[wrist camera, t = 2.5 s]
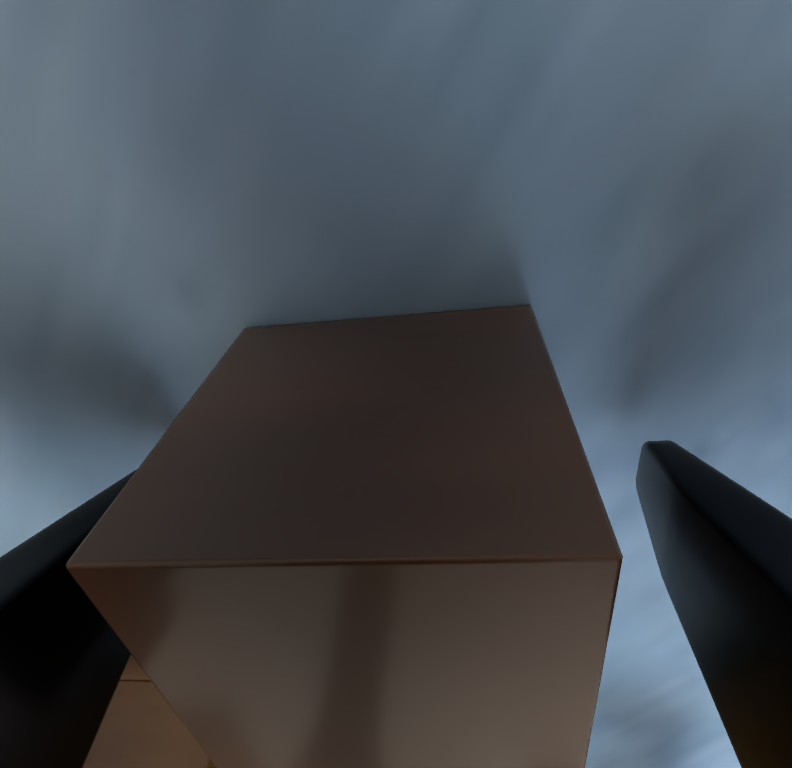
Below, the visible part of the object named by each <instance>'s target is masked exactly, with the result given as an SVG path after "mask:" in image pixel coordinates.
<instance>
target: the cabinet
mask: <svg viewBox="0 0 792 768" xmlns="http://www.w3.org/2000/svg"><path fill="white" fill-rule="evenodd" d="M83 768H216V766H215V765H214V764H213V762H212V761H211V760H210V758H209V757H208V756H207V754H206V753H205V752H204V750H203V749H202V748H201V746H200V745H199V744H198V742H197V741H196V740H195V738H194V737H193V736H192V734H191V733H190V732H189V730H188V729H187V728H186V726H185V725H184V724H183V722H182V721H181V720H180V718H179V717H178V716H177V714H176V713H175V712H174V710H173V709H172V708H171V706H170V705H169V704H168V703H167V701H166V700H165V699H164V697H163V696H162V695H161V693H160V692H159V691H158V689H157V688H156V687H155V685H154V684H153V683H152V681H151V680H150V679H149V677H148V676H147V675H146V673H145V672H144V671H143V669H142V668H141V667H140V665H139V664H138V663H137V661H136V660H135V659H134V657H133V656H132V655H130V657H129V660H128V662H127V664H126V667H125V669H124V671H123V674H122V676H121V678H120V681H119V683H118V685H117V688H116V690H115V693H114V695H113V697H112V700H111V702H110V704H109V707H108V709H107V711H106V714H105V716H104V719H103V721H102V723H101V726H100V728H99V730H98V733H97V735H96V737H95V740H94V742H93V744H92V747H91V749H90V752H89V754H88V756H87V759H86V761H85V763H84V766H83Z"/></svg>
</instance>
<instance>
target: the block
mask: <svg viewBox="0 0 792 768" xmlns="http://www.w3.org/2000/svg"><path fill="white" fill-rule="evenodd" d="M622 558H623V556H622V553H621V551H620V548H619V545H618V542H617V540H616V537H615V534H614V531H613V529H612V526H611V523H610V521H609V518H608V515H607V512H606V510H605V507H604V504H603V501H602V499H601V496H600V493H599V490H598V488H597V485H596V482H595V479H594V477H593V474H592V471H591V469H590V466H589V463H588V460H587V458H586V455H585V452H584V449H583V447H582V444H581V441H580V438H579V436H578V433H577V430H576V427H575V425H574V422H573V419H572V417H571V414H570V411H569V408H568V406H567V403H566V400H565V397H564V395H563V392H562V389H561V386H560V384H559V381H558V378H557V375H556V373H555V370H554V367H553V365H552V362H551V359H550V356H549V354H548V351H547V348H546V345H545V343H544V340H543V337H542V334H541V332H540V329H539V326H538V323H537V321H536V318H535V315H534V313H533V310H532V307H531V306H530V305H521V306H509V307H497V308H485V309H473V310H461V311H449V312H437V313H425V314H413V315H401V316H388V317H376V318H364V319H352V320H340V321H328V322H316V323H304V324H292V325H280V326H268V327H256V328H245V329H244V330H243V331H242V332H241V333H240V335H239V336H238V337H237V339H236V340H235V341H234V343H233V344H232V345H231V347H230V348H229V349H228V351H227V352H226V353H225V355H224V356H223V357H222V359H221V360H220V361H219V362H218V364H217V365H216V366H215V368H214V369H213V370H212V372H211V373H210V374H209V376H208V377H207V378H206V380H205V381H204V382H203V384H202V385H201V386H200V388H199V389H198V390H197V392H196V393H195V394H194V395H193V397H192V398H191V399H190V401H189V402H188V403H187V405H186V406H185V407H184V409H183V410H182V411H181V413H180V414H179V415H178V417H177V418H176V419H175V421H174V422H173V423H172V424H171V426H170V427H169V428H168V430H167V431H166V432H165V434H164V435H163V436H162V438H161V439H160V440H159V442H158V443H157V444H156V446H155V447H154V448H153V450H152V451H151V452H150V453H149V455H148V456H147V457H146V459H145V460H144V461H143V463H142V464H141V465H140V467H139V468H138V469H137V471H136V472H135V473H134V475H133V476H132V477H131V479H130V480H129V481H128V482H127V484H126V485H125V486H124V488H123V489H122V490H121V492H120V493H119V494H118V496H117V497H116V498H115V500H114V501H113V502H112V504H111V505H110V506H109V508H108V509H107V510H106V511H105V513H104V514H103V515H102V517H101V518H100V519H99V521H98V522H97V523H96V525H95V526H94V527H93V529H92V530H91V531H90V533H89V534H88V535H87V537H86V538H85V539H84V540H83V542H82V543H81V544H80V546H79V547H78V548H77V550H76V551H75V552H74V554H73V555H72V556H71V558H70V559H69V560H68V562H67V564H66V568H67V570H68V571H69V572H70V574H71V575H72V576H73V578H74V579H75V580H76V582H77V583H78V584H79V586H80V587H81V588H82V590H83V591H84V592H85V594H86V595H87V596H88V598H89V599H90V600H91V601H92V603H93V604H94V605H95V607H96V608H97V609H98V611H99V612H100V613H101V615H102V616H103V617H104V619H105V620H106V621H107V623H108V624H109V625H110V627H111V628H112V629H113V631H114V632H115V633H116V635H117V636H118V637H119V639H120V640H121V641H122V643H123V644H124V645H125V647H126V648H127V649H128V651H129V652H130V653H131V655H132V656H133V657H134V659H135V660H136V661H137V663H138V664H139V665H140V667H141V668H142V669H143V671H144V672H145V673H146V675H147V676H148V677H149V679H150V680H151V681H152V683H153V684H154V685H155V687H156V688H157V689H158V691H159V692H160V693H161V695H162V696H163V697H164V699H165V700H166V701H167V703H168V704H169V705H170V706H171V708H172V709H173V710H174V712H175V713H176V714H177V716H178V717H179V718H180V720H181V721H182V722H183V724H184V725H185V726H186V728H187V729H188V730H189V732H190V733H191V734H192V736H193V737H194V738H195V740H196V741H197V742H198V744H199V745H200V746H201V748H202V749H203V750H204V752H205V753H206V754H207V756H208V757H209V758H210V760H211V761H212V762H213V764H214V765H215V766H216V768H585V763H586V758H587V752H588V746H589V741H590V735H591V730H592V724H593V719H594V713H595V708H596V702H597V697H598V691H599V686H600V680H601V674H602V669H603V663H604V658H605V652H606V647H607V641H608V636H609V630H610V625H611V619H612V613H613V608H614V602H615V597H616V591H617V586H618V580H619V575H620V569H621V564H622Z"/></svg>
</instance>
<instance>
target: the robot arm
mask: <svg viewBox="0 0 792 768" xmlns="http://www.w3.org/2000/svg"><path fill="white" fill-rule="evenodd" d="M136 471H137V470H135V471H133V472H132V473H130V474H129V475H127V476H126V477H124V478H123V479H121V480H120V481H118V482H116V483H115V484H113V485H112V486H110V487H109V488H107V489H106V490H104V491H102V492H101V493H99V494H98V495H96V496H95V497H93V498H92V499H90V500H88V501H87V502H85V503H84V504H82V505H81V506H79V507H78V508H76V509H74V510H73V511H71V512H70V513H68V514H67V515H65V516H64V517H62V518H61V519H59V520H57V521H56V522H54V523H53V524H51V525H50V526H48V527H47V528H45V529H43V530H42V531H40V532H39V533H37V534H36V535H34V536H33V537H31V538H29V539H28V540H26V541H25V542H23V543H22V544H20V545H19V546H17V547H15V548H14V549H12V550H11V551H9V552H8V553H6V554H5V555H3V556H2V557H0V768H83V766H84V763H85V761H86V759H87V756H88V754H89V752H90V749H91V747H92V744H93V742H94V740H95V737H96V735H97V733H98V730H99V728H100V726H101V723H102V721H103V719H104V716H105V714H106V711H107V709H108V707H109V704H110V702H111V700H112V697H113V695H114V693H115V690H116V688H117V685H118V683H119V681H120V678H121V676H122V674H123V671H124V669H125V667H126V664H127V662H128V660H129V657H130V655H131V653H130V652H129V651H128V649H127V648H126V647H125V645H124V644H123V643H122V641H121V640H120V639H119V637H118V636H117V635H116V633H115V632H114V631H113V629H112V628H111V627H110V625H109V624H108V623H107V621H106V620H105V619H104V617H103V616H102V615H101V613H100V612H99V611H98V609H97V608H96V607H95V605H94V604H93V603H92V601H91V600H90V599H89V598H88V596H87V595H86V594H85V592H84V591H83V590H82V588H81V587H80V586H79V584H78V583H77V582H76V580H75V579H74V578H73V576H72V575H71V574H70V572H69V571H68V570H67V568H66V564H67V562H68V560H69V559H70V558H71V556H72V555H73V554H74V552H75V551H76V550H77V548H78V547H79V546H80V544H81V543H82V542H83V540H84V539H85V538H86V537H87V535H88V534H89V533H90V531H91V530H92V529H93V527H94V526H95V525H96V523H97V522H98V521H99V519H100V518H101V517H102V515H103V514H104V513H105V511H106V510H107V509H108V508H109V506H110V505H111V504H112V502H113V501H114V500H115V498H116V497H117V496H118V494H119V493H120V492H121V490H122V489H123V488H124V486H125V485H126V484H127V482H128V481H129V480H130V479H131V477H132V476H133V475H134V473H135V472H136ZM636 487H637V492H638V496H639V500H640V503H641V507H642V510H643V513H644V517H645V520H646V524H647V527H648V531H649V534H650V538H651V541H652V545H653V548H654V552H655V555H656V559H657V562H658V565H659V569H660V572H661V575H662V578H663V580H664V583H665V586H666V588H667V591H668V593H669V595H670V598H671V600H672V603H673V605H674V607H675V610H676V612H677V615H678V617H679V619H680V622H681V624H682V626H683V629H684V631H685V634H686V636H687V638H688V641H689V643H690V646H691V648H692V650H693V653H694V655H695V658H696V660H697V662H698V665H699V667H700V669H701V672H702V674H703V677H704V679H705V681H706V684H707V686H708V689H709V691H710V693H711V696H712V698H713V701H714V703H715V705H716V708H717V710H718V712H719V715H720V717H721V720H722V722H723V724H724V727H725V729H726V732H727V734H728V736H729V739H730V741H731V744H732V746H733V748H734V751H735V753H736V755H737V758H738V760H739V763H740V765H741V767H742V768H792V519H791V518H790V517H788V516H787V515H785V514H784V513H782V512H781V511H779V510H777V509H776V508H774V507H773V506H771V505H770V504H768V503H767V502H765V501H764V500H762V499H761V498H759V497H757V496H756V495H754V494H753V493H751V492H750V491H748V490H747V489H745V488H744V487H742V486H741V485H739V484H738V483H736V482H734V481H733V480H731V479H730V478H728V477H727V476H725V475H724V474H722V473H721V472H719V471H718V470H716V469H714V468H713V467H711V466H710V465H708V464H707V463H705V462H704V461H702V460H701V459H699V458H698V457H696V456H695V455H693V454H691V453H690V452H688V451H687V450H685V449H684V448H682V447H681V446H679V445H678V444H676V443H674V442H672V441H668V440H665V441H648V442H646V443H644V444H643V446H642V449H641V454H640V460H639V465H638V471H637V476H636Z"/></svg>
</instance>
